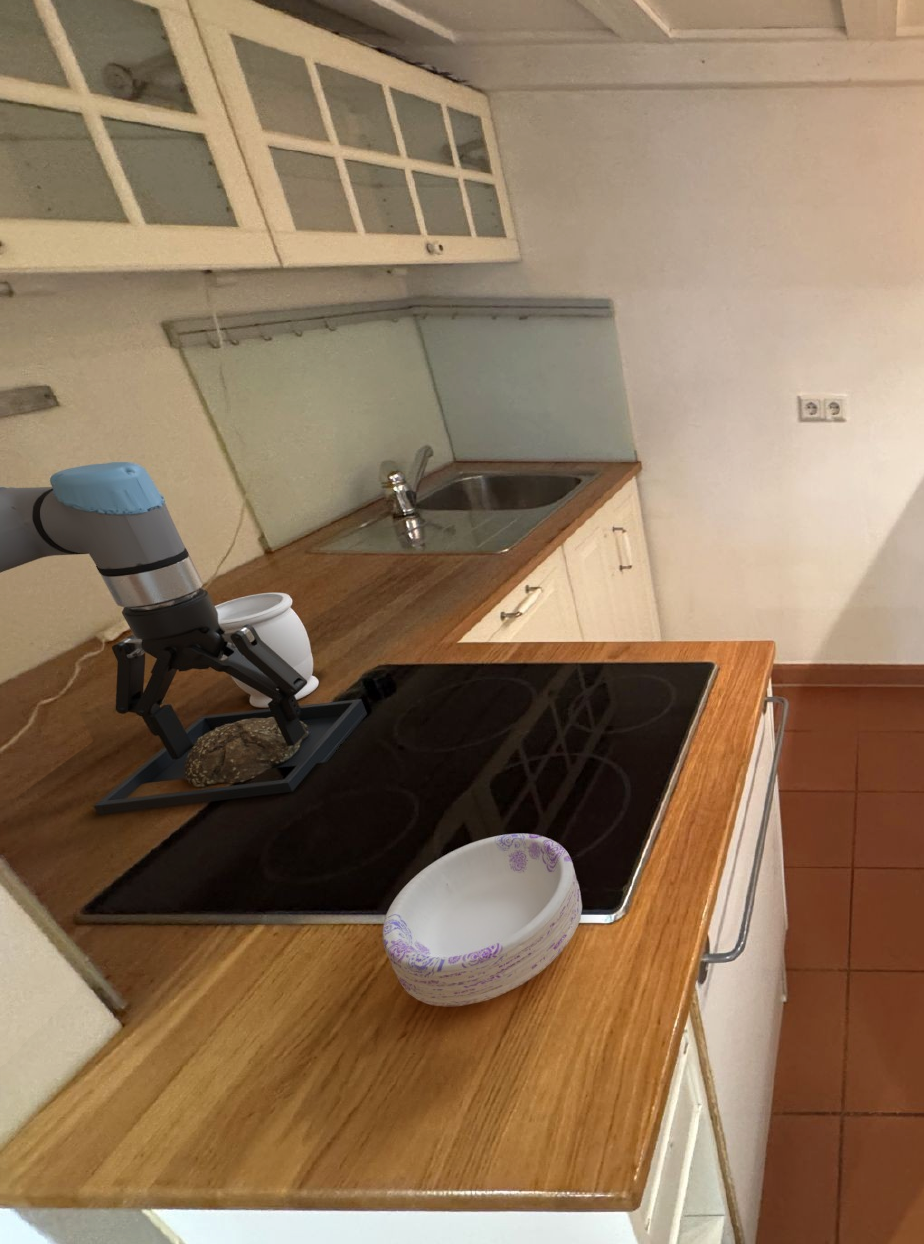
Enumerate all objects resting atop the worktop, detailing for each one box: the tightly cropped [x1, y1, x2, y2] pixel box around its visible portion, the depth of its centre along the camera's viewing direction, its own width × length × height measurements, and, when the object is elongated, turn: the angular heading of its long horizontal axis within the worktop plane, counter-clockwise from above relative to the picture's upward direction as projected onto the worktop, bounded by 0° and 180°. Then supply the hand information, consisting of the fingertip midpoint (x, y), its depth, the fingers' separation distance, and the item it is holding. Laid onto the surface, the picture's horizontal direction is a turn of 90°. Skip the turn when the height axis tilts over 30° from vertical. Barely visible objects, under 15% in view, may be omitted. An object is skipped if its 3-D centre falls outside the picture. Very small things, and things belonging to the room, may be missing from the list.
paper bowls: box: [382, 833, 583, 1007], centre depth 63 cm, size 15×15×8 cm
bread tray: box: [93, 698, 368, 816], centre depth 91 cm, size 21×19×3 cm
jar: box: [214, 592, 320, 709], centre depth 104 cm, size 11×10×15 cm
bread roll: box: [185, 717, 309, 789], centre depth 90 cm, size 13×12×5 cm
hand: (240, 746), depth 90 cm, fingers open, 13 cm apart
